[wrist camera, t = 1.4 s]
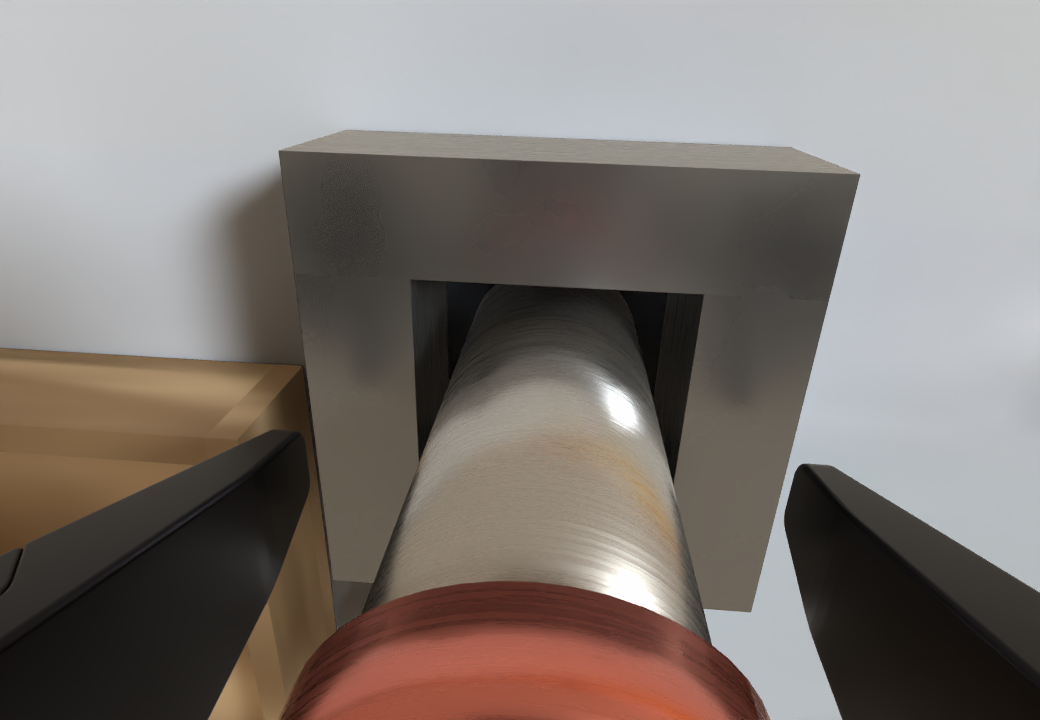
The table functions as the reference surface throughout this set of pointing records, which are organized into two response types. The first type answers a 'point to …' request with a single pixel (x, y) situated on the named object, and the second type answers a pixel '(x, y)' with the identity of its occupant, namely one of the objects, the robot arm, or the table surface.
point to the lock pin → (535, 545)
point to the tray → (163, 475)
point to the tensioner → (575, 264)
